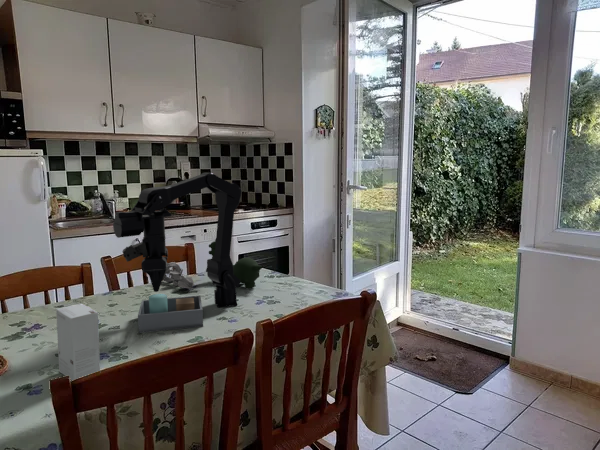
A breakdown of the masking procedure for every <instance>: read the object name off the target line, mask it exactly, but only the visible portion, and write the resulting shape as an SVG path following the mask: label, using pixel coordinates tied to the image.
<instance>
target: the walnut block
mask: <svg viewBox="0 0 600 450" xmlns="http://www.w3.org/2000/svg"><path fill="white" fill-rule="evenodd" d="M184 310H194V298H183V299H176V311H184Z"/></svg>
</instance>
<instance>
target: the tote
mask: <svg viewBox="0 0 600 450" xmlns="http://www.w3.org/2000/svg"><path fill="white" fill-rule="evenodd" d="M183 298H194V310H184V311H176V299H183ZM201 298H202V297H201V295H190V296H180V297H179V296H177V297H167V305H168V312H163V313H152V314H150V309H149V299H143V300H141V302H140V304H139V305H140V306H139V310H138V313H137V324H138V325H137V326H138V334H141V333H142V334H143V333H151V332H153V333H154V332H162V331H163V332H164V331H171V330H180V329H181V330H182V329H191V328H201V327H204V311H203V304H202V299H201Z"/></svg>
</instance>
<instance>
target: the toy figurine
mask: <svg viewBox="0 0 600 450" xmlns="http://www.w3.org/2000/svg"><path fill="white" fill-rule="evenodd" d="M215 245H216V238H215V239H214V241H212V242H211V243H210V244H209V245H208V247H209V248H210V249H211V250H209V251H208V255H210V256H211V258H209V259H210V260H211V259H212V258H213V256H214V254H215ZM262 269H263V266H262V265H259V264H258V262H257V261H256V260H255V259H253V258H251V257H242V258H240V259H238V260H237V261H236V262H235V263H234V264H233V273H234V275H235V276H236V277H237V278H238V279H240V281H241V282H240V284H244V287H245V289H246V290H251V289H253V288H254V287H255V286H256V282H255V281H256V280H257V279H258V278H260V270H262Z"/></svg>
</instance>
